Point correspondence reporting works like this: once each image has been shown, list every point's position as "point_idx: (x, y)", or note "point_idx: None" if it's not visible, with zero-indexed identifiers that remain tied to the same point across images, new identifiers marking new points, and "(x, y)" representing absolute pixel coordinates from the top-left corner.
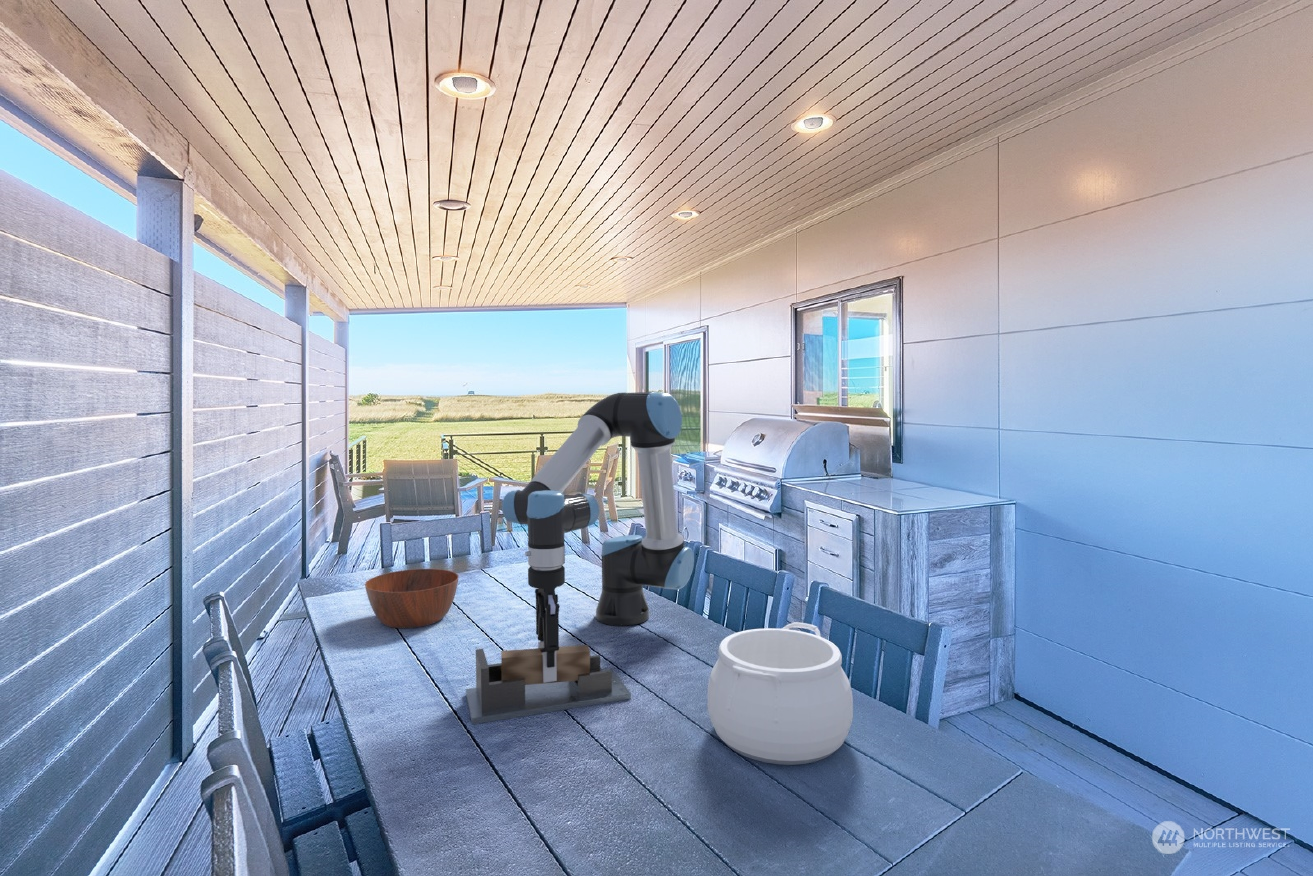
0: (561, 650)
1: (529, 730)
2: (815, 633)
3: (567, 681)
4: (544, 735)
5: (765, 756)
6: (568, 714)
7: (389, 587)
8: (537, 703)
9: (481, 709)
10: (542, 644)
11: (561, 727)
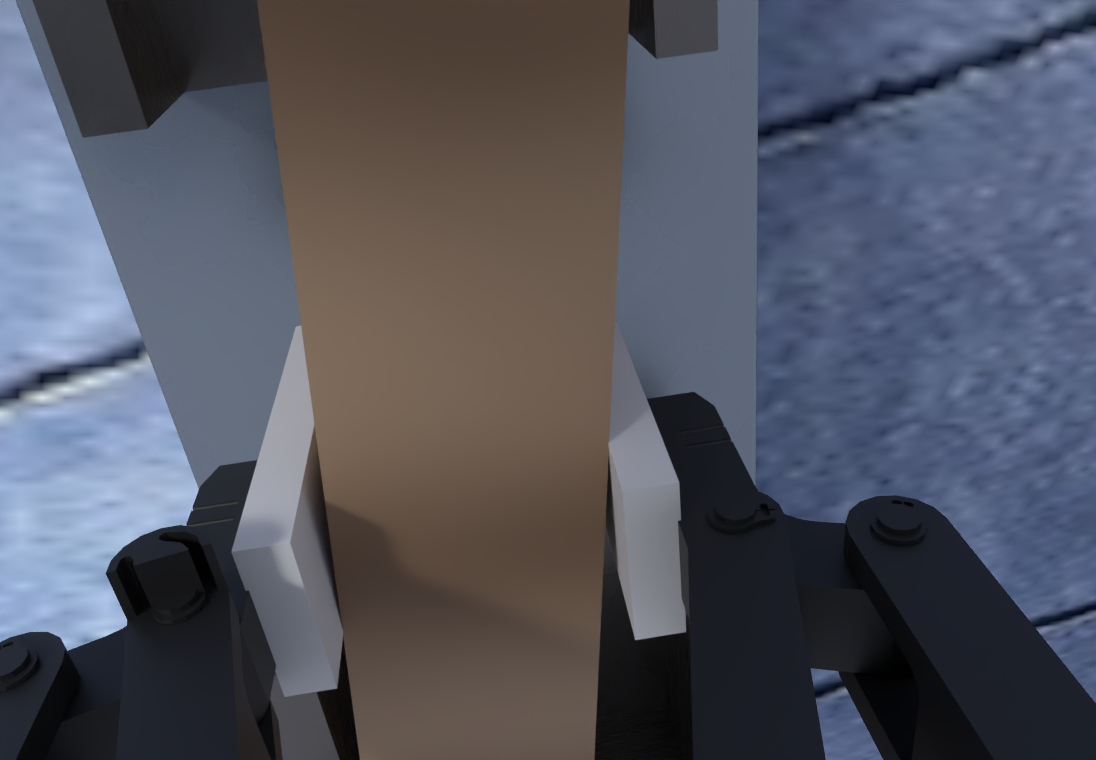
0: (479, 363)
1: (955, 404)
2: None
3: (241, 94)
4: (1070, 315)
5: None
6: (834, 123)
7: None
8: (674, 378)
9: None
10: (328, 630)
11: (1020, 195)
